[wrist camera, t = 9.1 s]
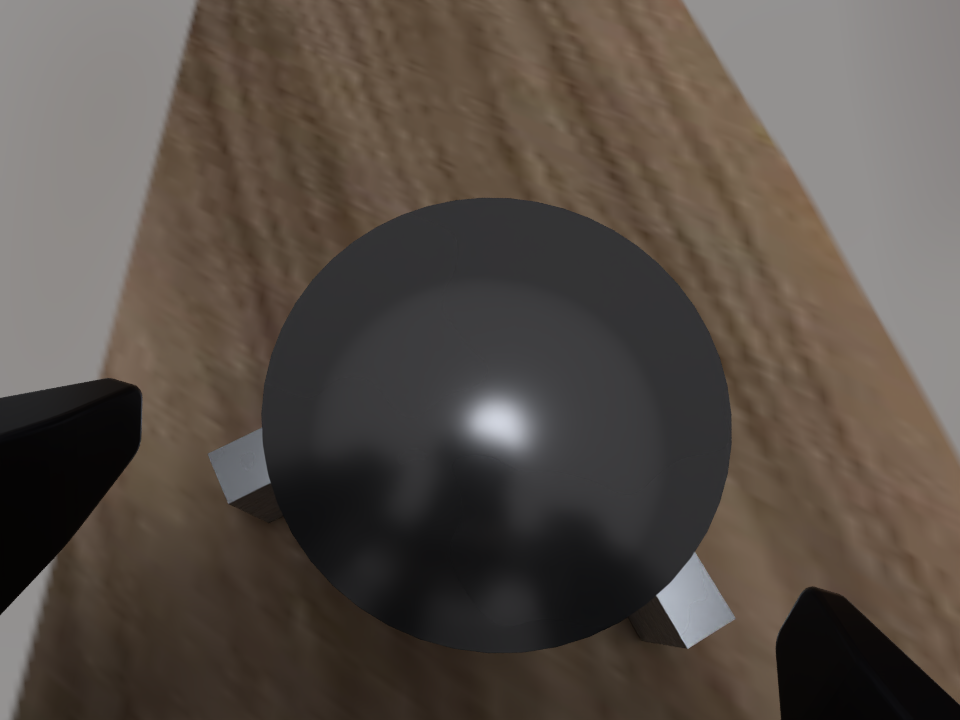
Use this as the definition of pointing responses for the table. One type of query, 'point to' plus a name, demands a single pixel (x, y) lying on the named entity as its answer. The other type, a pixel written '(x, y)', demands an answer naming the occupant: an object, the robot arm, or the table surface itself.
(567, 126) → the table surface
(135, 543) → the table surface
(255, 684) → the table surface
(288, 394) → the axle
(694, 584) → the v block
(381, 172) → the table surface
